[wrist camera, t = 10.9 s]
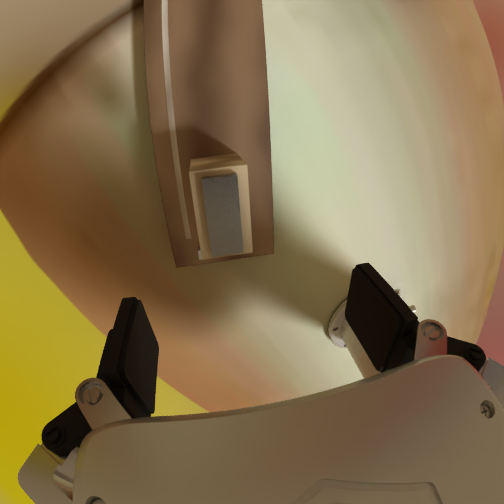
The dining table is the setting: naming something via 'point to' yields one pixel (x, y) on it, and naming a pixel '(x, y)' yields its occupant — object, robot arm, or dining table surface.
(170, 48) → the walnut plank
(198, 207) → the beige rectangular block
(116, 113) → the dining table surface
